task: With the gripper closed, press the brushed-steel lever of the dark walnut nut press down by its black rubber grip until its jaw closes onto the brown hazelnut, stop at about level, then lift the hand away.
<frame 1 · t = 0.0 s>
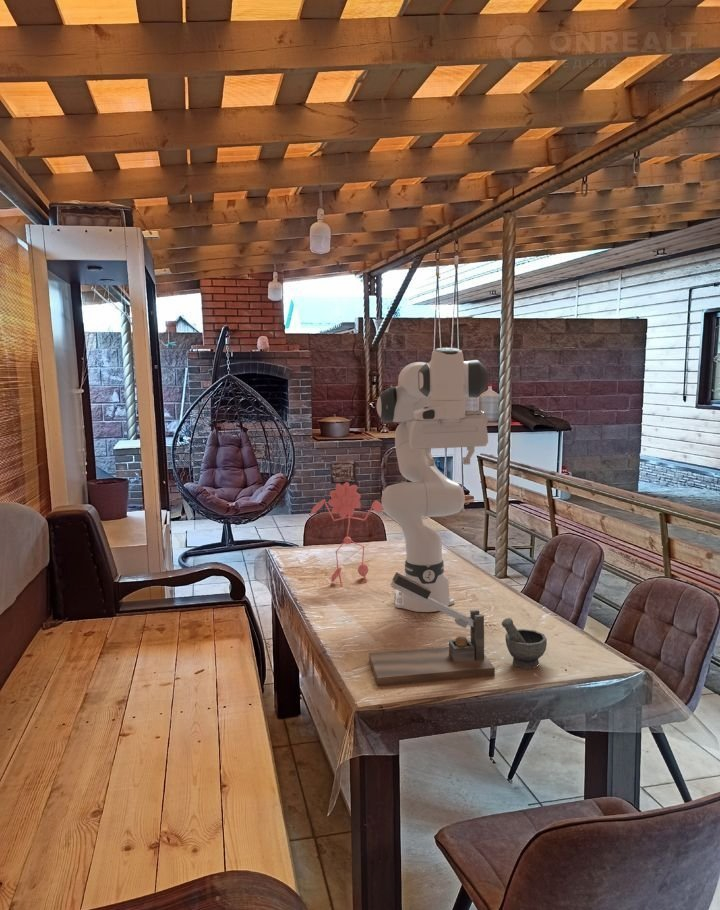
hand: (448, 465, 168), 48 cm above the table, tool pointing down, fingers open, 8 cm apart
mortar and pestle: (523, 664, 161), on the table
press base: (429, 668, 160), on the table
figurine: (347, 579, 233), on the table
lever: (436, 603, 158), point 16 cm above the table, hinge at -30.0°
nut: (461, 641, 160), point 6 cm above the table, touching press base
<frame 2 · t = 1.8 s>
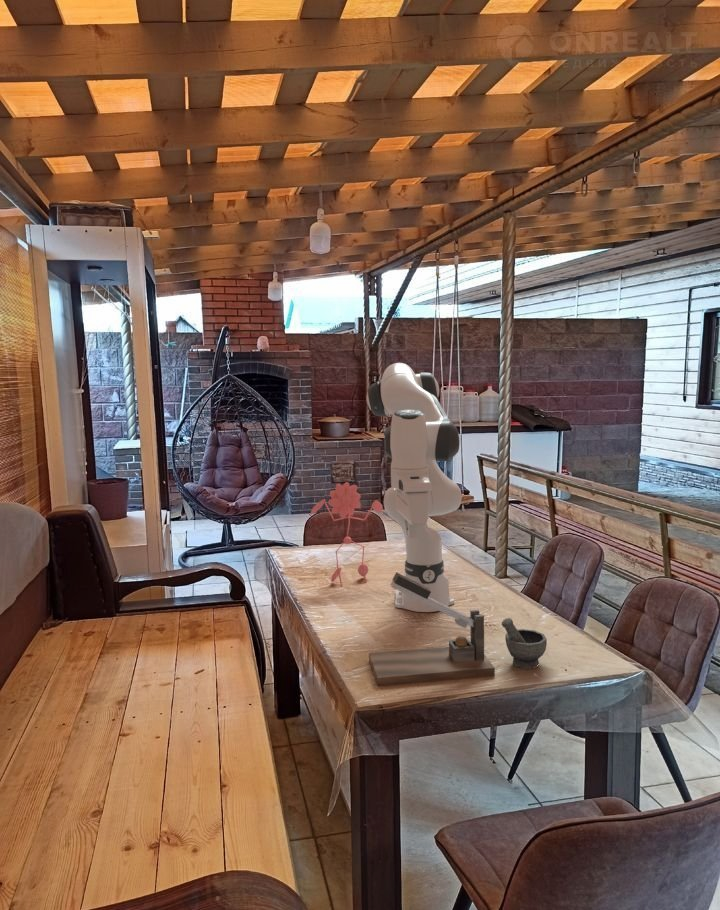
hand: (410, 536, 155), 33 cm above the table, tool pointing down, fingers closed
nothing on the table moved.
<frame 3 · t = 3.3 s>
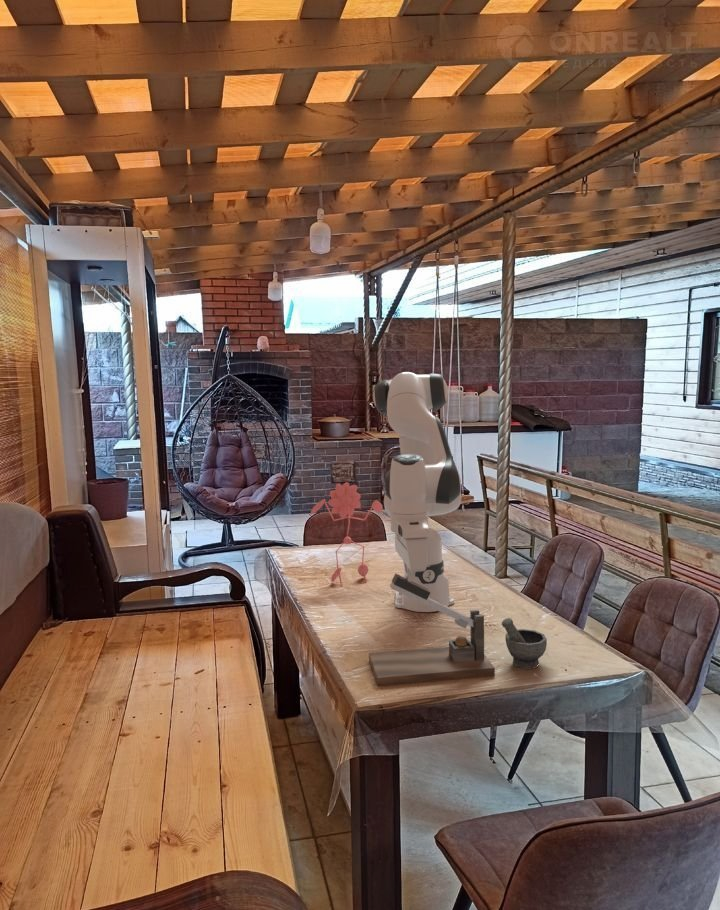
hand: (410, 579, 156), 23 cm above the table, tool pointing down, fingers closed, pressing on lever
lever: (435, 603, 158), point 16 cm above the table, hinge at -29.2°, touching gripper
everything else where it was.
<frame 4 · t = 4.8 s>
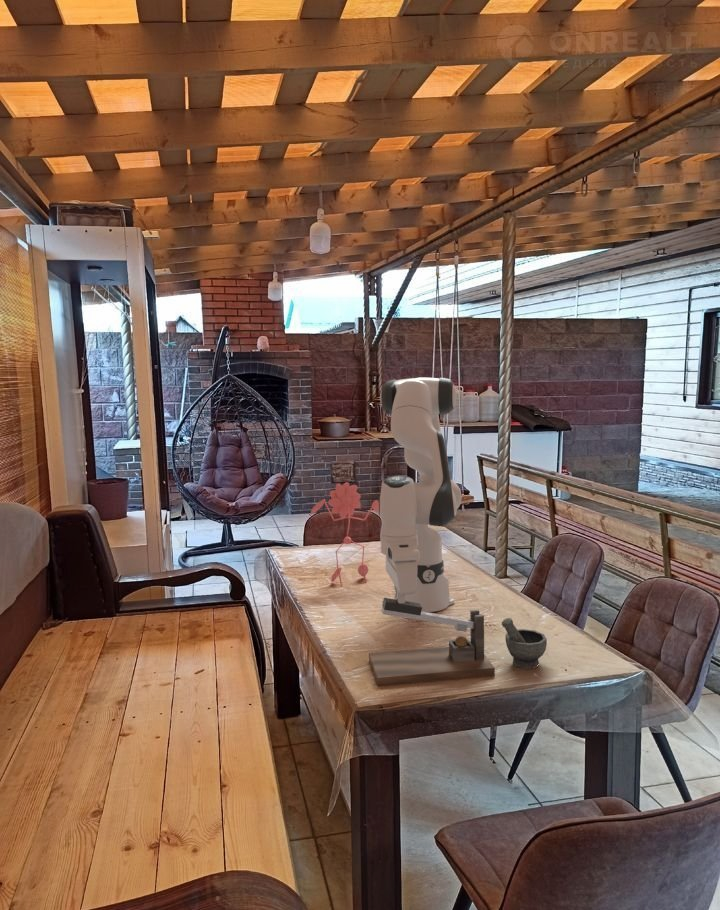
hand: (400, 601, 157), 17 cm above the table, tool pointing down, fingers closed, pressing on lever
lever: (430, 615, 158), point 13 cm above the table, hinge at -13.6°, touching gripper
everything else where it was.
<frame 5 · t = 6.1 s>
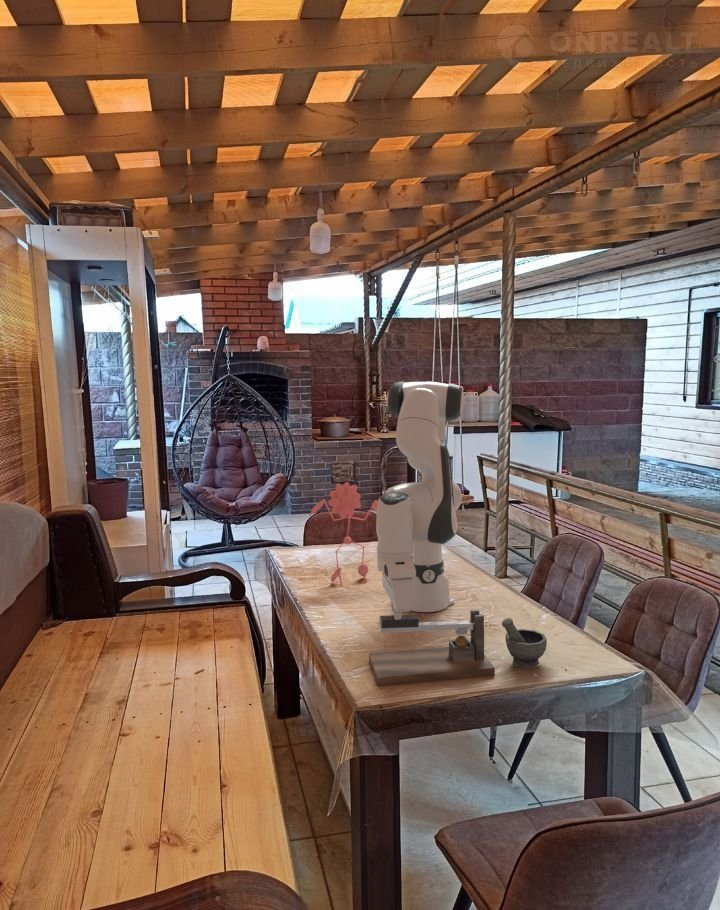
hand: (396, 617, 157), 13 cm above the table, tool pointing down, fingers closed, pressing on lever
lever: (429, 625, 158), point 11 cm above the table, hinge at -2.7°, touching gripper
everything else where it was.
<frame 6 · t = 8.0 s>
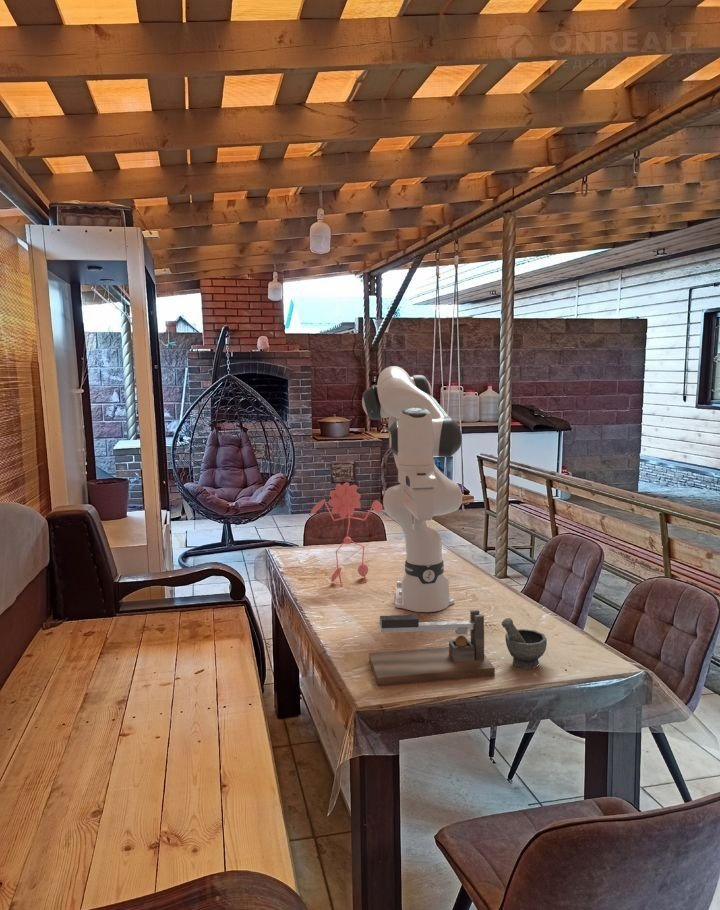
hand: (416, 530, 161), 33 cm above the table, tool pointing down, fingers closed
lever: (429, 625, 158), point 11 cm above the table, hinge at -2.6°
everything else where it was.
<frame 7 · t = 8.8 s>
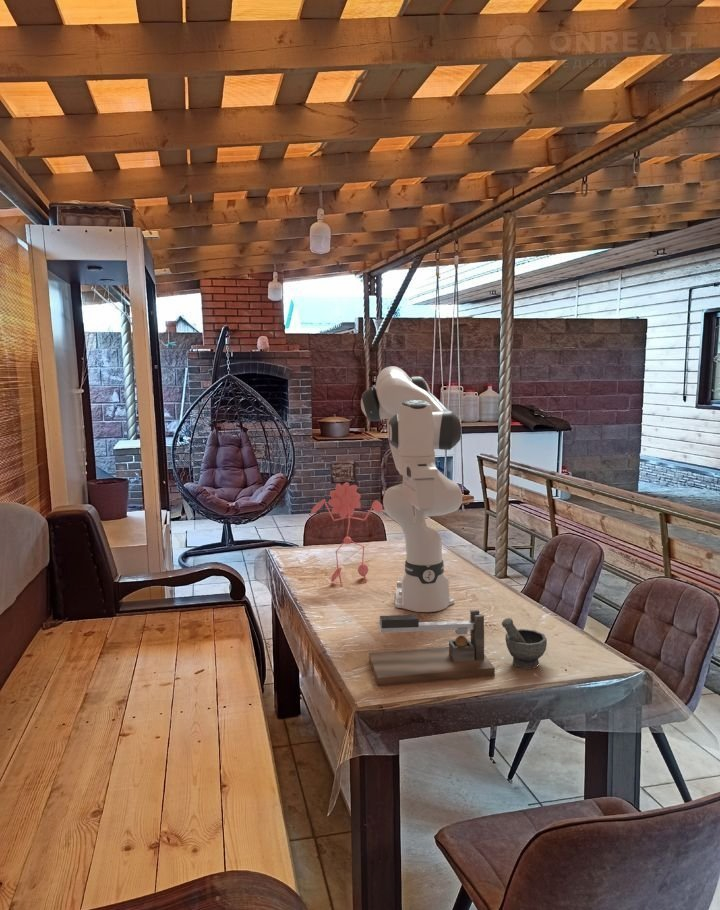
hand: (418, 522, 161), 35 cm above the table, tool pointing down, fingers closed
nothing on the table moved.
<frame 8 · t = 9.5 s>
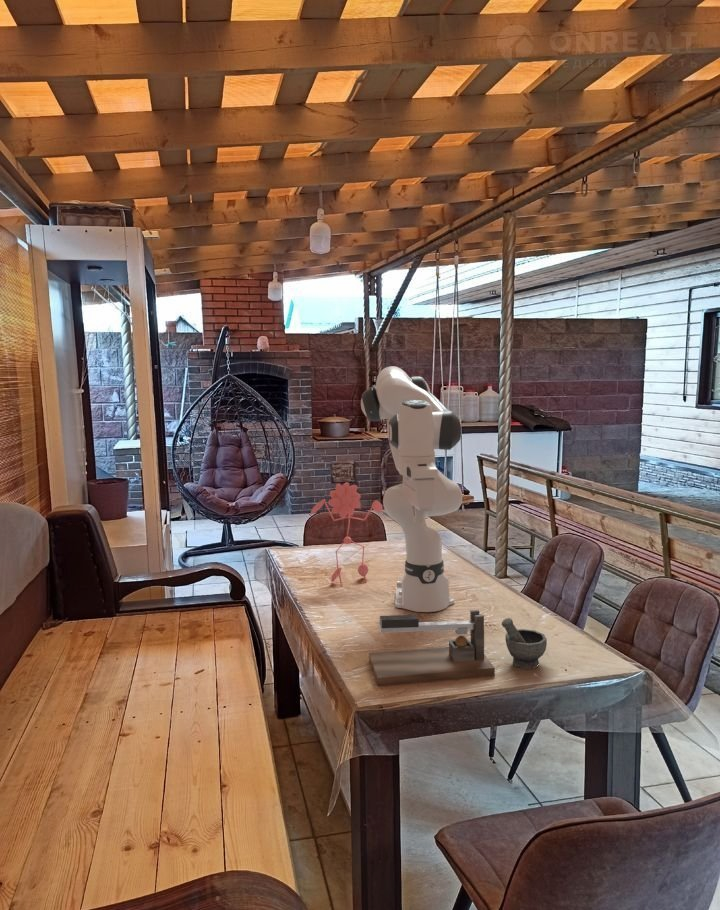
hand: (418, 522, 161), 35 cm above the table, tool pointing down, fingers closed
nothing on the table moved.
at the end: lever at -3° (first picture: -30°); nut moved 0.1 cm from its start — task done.
